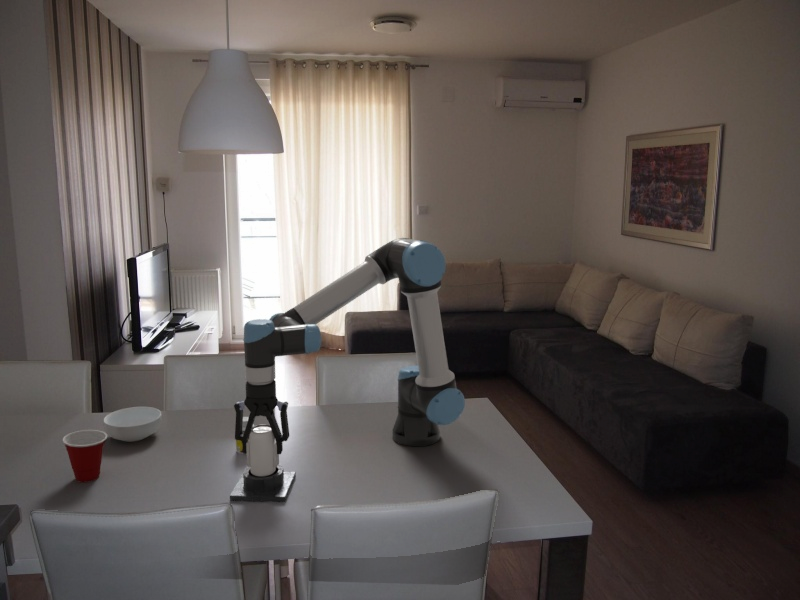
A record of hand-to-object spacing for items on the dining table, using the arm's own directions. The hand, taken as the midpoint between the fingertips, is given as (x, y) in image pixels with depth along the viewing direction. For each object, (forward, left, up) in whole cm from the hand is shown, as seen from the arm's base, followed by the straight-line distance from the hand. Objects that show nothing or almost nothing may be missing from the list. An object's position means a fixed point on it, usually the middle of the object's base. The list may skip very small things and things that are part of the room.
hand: (263, 464), depth 165 cm
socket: (0, 0, -7) cm, 7 cm away
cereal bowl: (+49, -32, -7) cm, 59 cm away
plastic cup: (+49, -4, -7) cm, 50 cm away
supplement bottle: (+11, -23, -7) cm, 26 cm away
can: (0, 0, -2) cm, 2 cm away
